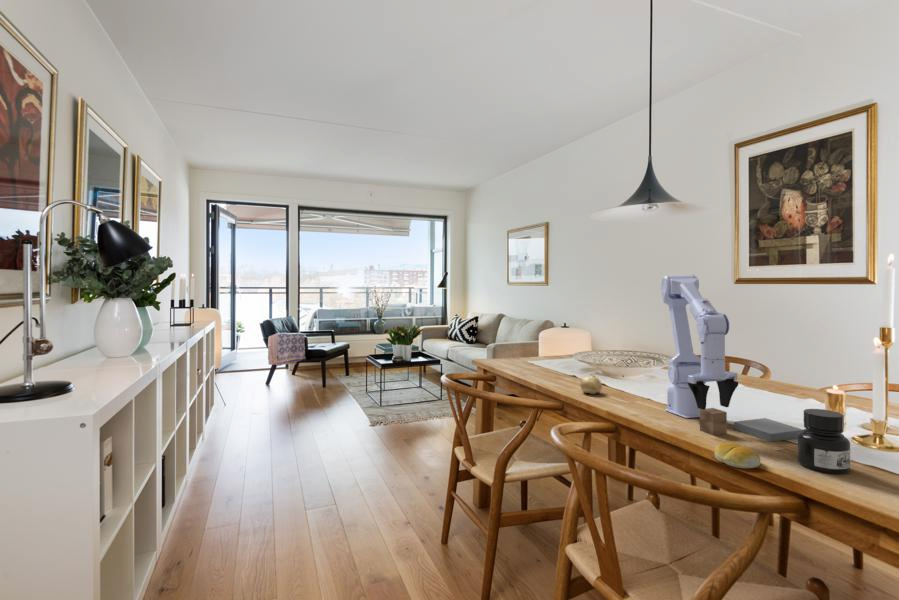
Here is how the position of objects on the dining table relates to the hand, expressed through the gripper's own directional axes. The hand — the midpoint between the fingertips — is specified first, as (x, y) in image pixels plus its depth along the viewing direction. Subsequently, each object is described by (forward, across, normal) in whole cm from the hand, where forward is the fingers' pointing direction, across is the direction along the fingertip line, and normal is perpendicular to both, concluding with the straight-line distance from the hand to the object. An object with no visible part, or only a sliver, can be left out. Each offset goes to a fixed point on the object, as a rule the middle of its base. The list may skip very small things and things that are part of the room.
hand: (713, 407), depth 123 cm
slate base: (+7, +13, -5) cm, 15 cm away
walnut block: (+7, 0, 0) cm, 7 cm away
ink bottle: (+7, +4, -26) cm, 27 cm away
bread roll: (+7, -11, -18) cm, 22 cm away
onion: (+7, -7, +50) cm, 51 cm away
